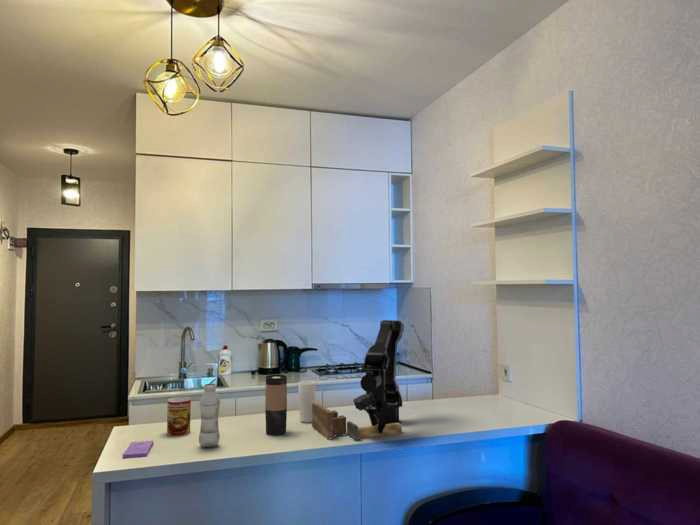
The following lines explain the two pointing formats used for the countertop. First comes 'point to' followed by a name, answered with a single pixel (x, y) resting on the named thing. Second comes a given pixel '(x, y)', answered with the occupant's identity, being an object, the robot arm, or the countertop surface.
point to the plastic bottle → (209, 417)
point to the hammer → (371, 430)
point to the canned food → (178, 416)
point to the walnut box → (327, 421)
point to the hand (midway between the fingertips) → (377, 431)
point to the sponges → (138, 449)
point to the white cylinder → (306, 399)
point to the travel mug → (276, 404)
